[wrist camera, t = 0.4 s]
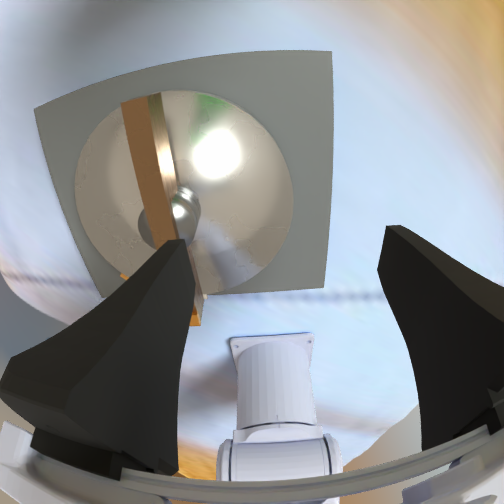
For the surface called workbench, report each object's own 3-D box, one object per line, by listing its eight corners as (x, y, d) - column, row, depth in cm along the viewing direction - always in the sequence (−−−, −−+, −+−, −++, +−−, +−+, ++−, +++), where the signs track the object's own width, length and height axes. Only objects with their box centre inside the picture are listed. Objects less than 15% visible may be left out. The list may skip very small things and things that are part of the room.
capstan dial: (291, 277, 20) (297, 321, 17) (119, 286, 21) (101, 324, 17) (286, 77, 12) (298, 79, 9) (62, 119, 13) (22, 138, 10)
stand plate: (319, 276, 22) (323, 291, 21) (108, 287, 23) (102, 300, 22) (324, 52, 13) (332, 51, 11) (46, 104, 14) (31, 109, 12)
